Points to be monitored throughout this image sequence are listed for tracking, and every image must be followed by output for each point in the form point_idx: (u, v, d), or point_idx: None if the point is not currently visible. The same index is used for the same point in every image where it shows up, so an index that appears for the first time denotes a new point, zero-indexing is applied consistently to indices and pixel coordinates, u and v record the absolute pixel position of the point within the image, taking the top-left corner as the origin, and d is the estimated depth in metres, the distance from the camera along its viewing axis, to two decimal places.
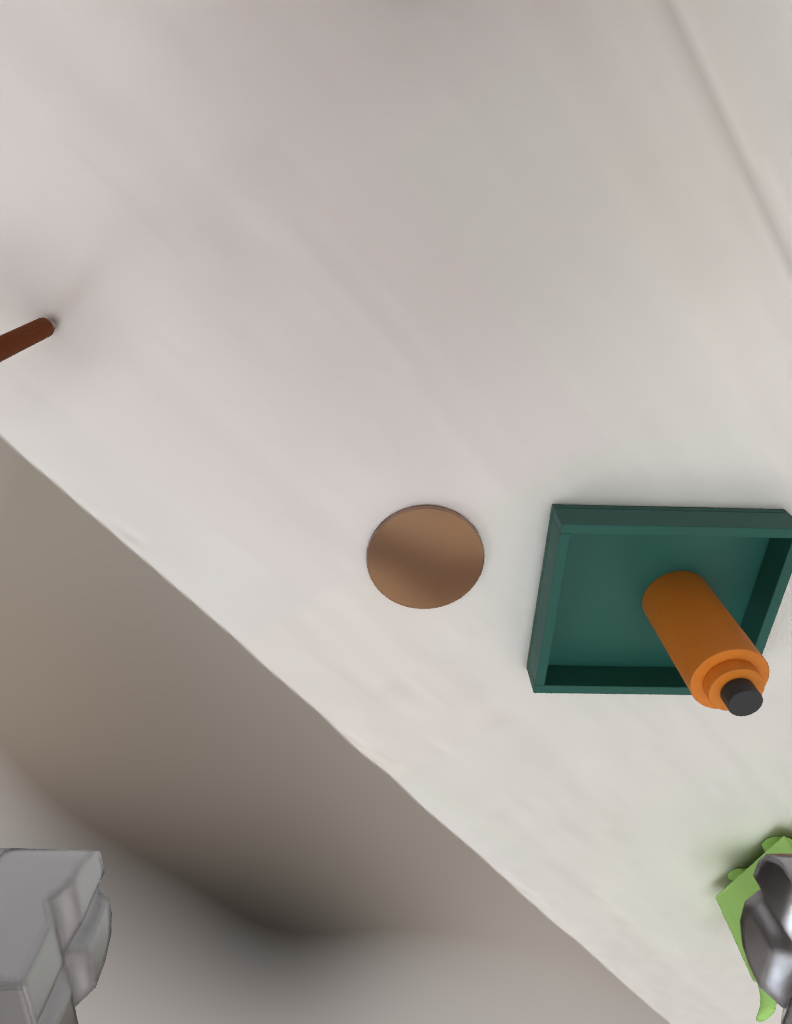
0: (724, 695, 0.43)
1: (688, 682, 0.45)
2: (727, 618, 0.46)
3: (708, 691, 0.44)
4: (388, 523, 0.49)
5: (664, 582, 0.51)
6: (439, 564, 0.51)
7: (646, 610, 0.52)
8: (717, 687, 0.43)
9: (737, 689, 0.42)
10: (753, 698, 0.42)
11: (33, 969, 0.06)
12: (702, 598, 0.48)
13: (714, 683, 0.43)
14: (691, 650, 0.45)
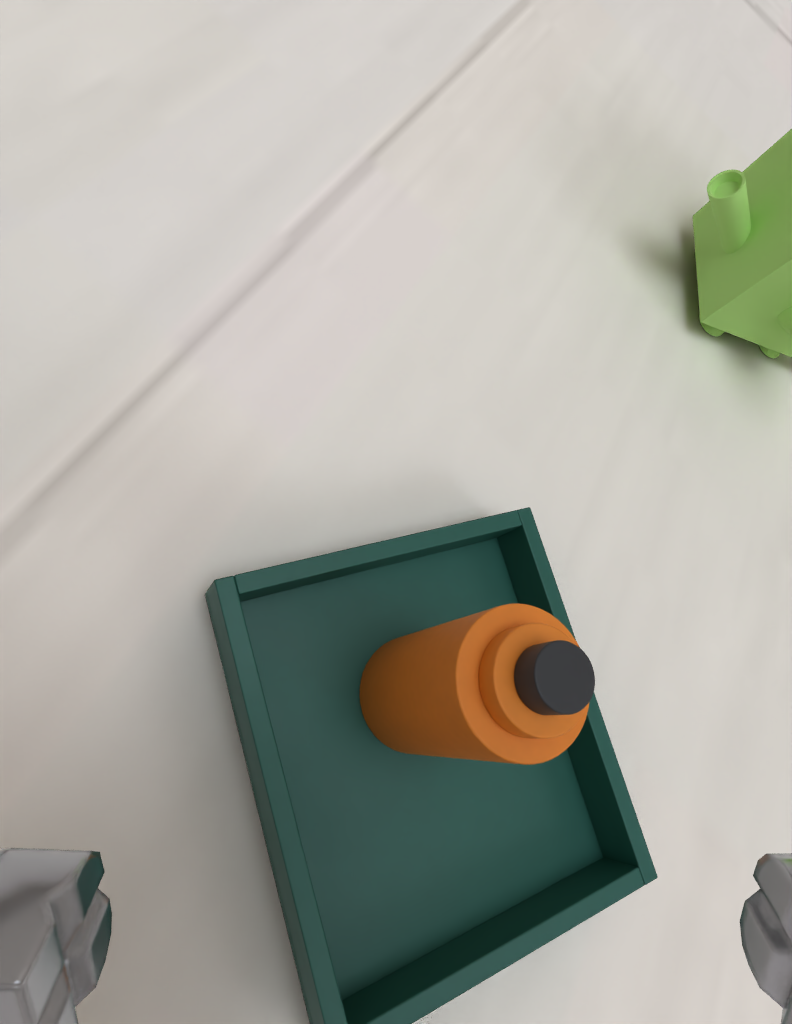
0: None
1: None
2: (412, 685, 0.24)
3: (564, 732, 0.21)
4: None
5: (391, 744, 0.29)
6: None
7: None
8: (551, 724, 0.21)
9: (543, 706, 0.20)
10: (549, 668, 0.20)
11: (33, 969, 0.06)
12: (392, 709, 0.26)
13: (545, 736, 0.21)
14: (494, 761, 0.22)
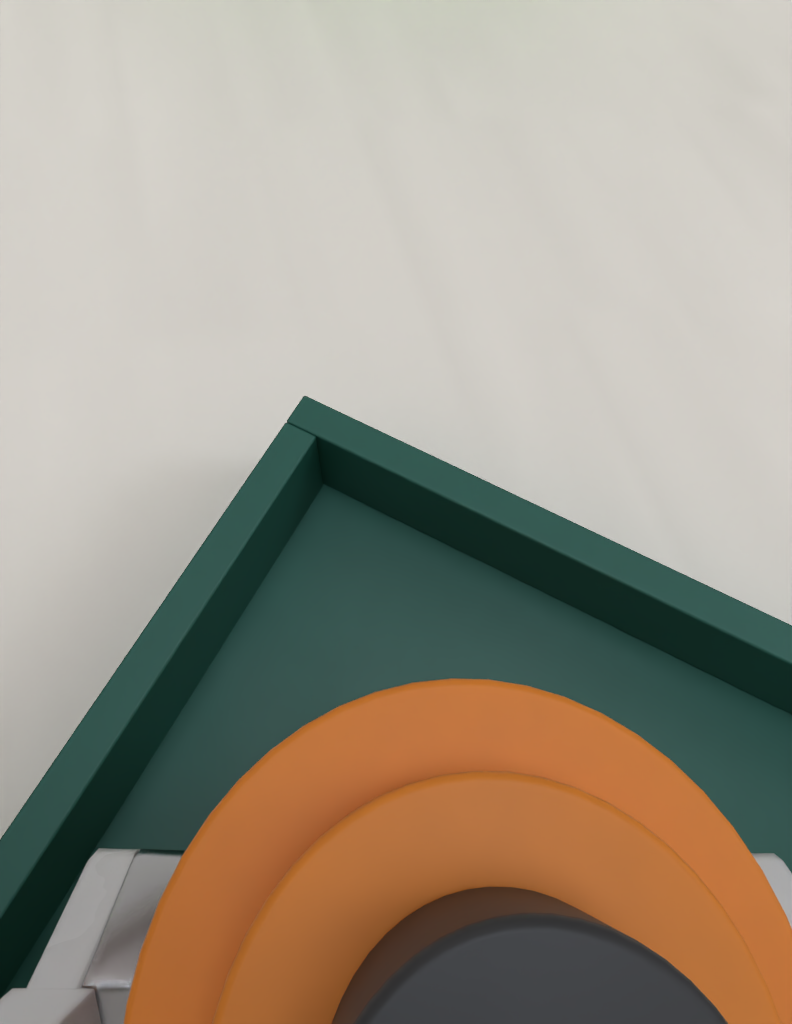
0: None
1: None
2: None
3: None
4: None
5: None
6: None
7: None
8: None
9: None
10: None
11: None
12: None
13: None
14: None
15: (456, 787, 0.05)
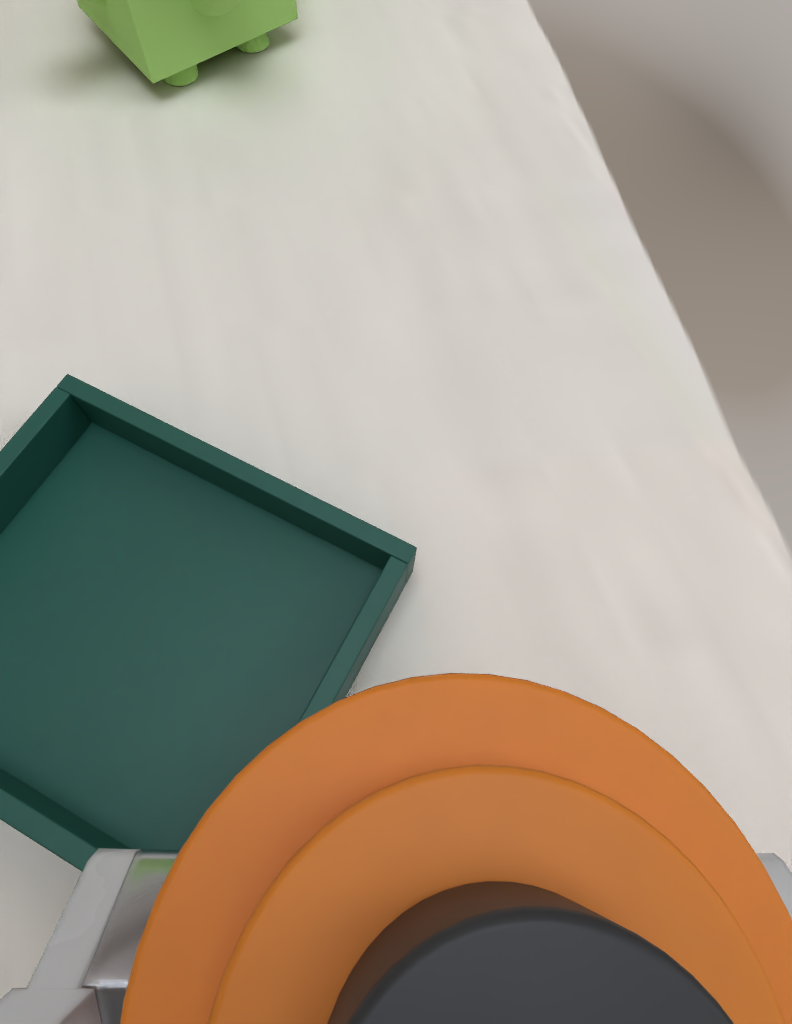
0: None
1: None
2: None
3: None
4: None
5: None
6: None
7: None
8: None
9: None
10: None
11: None
12: None
13: None
14: None
15: (455, 781, 0.05)
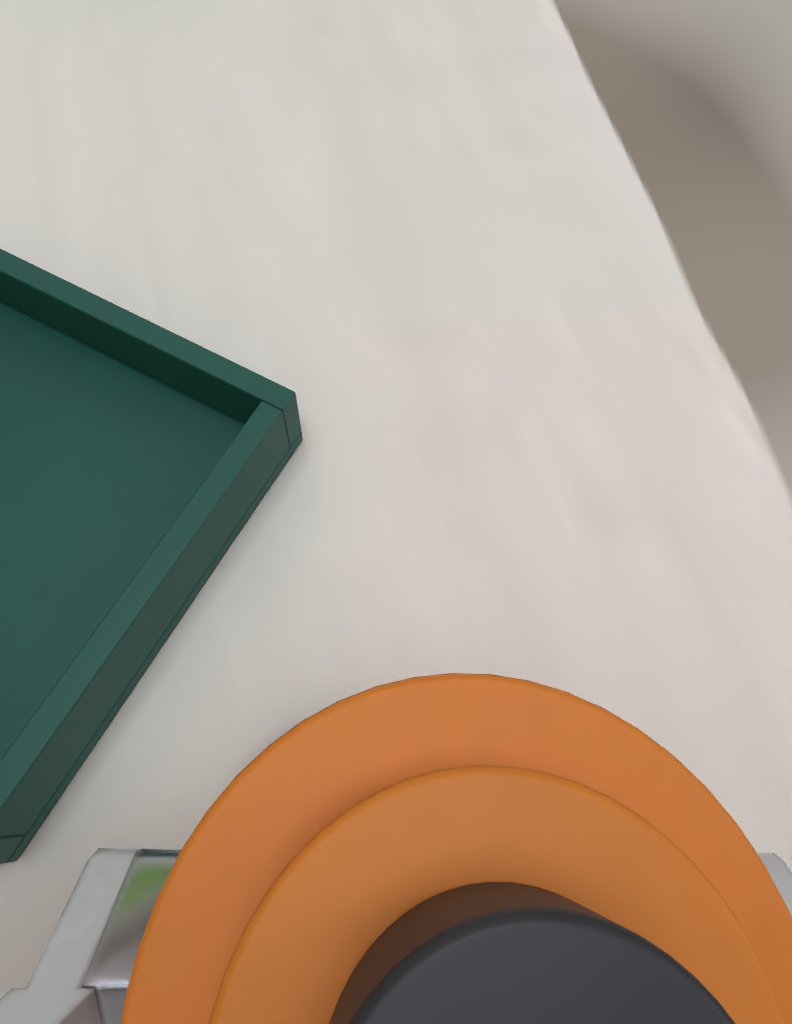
0: None
1: None
2: None
3: None
4: None
5: None
6: None
7: None
8: None
9: None
10: None
11: None
12: None
13: None
14: None
15: (457, 782, 0.05)
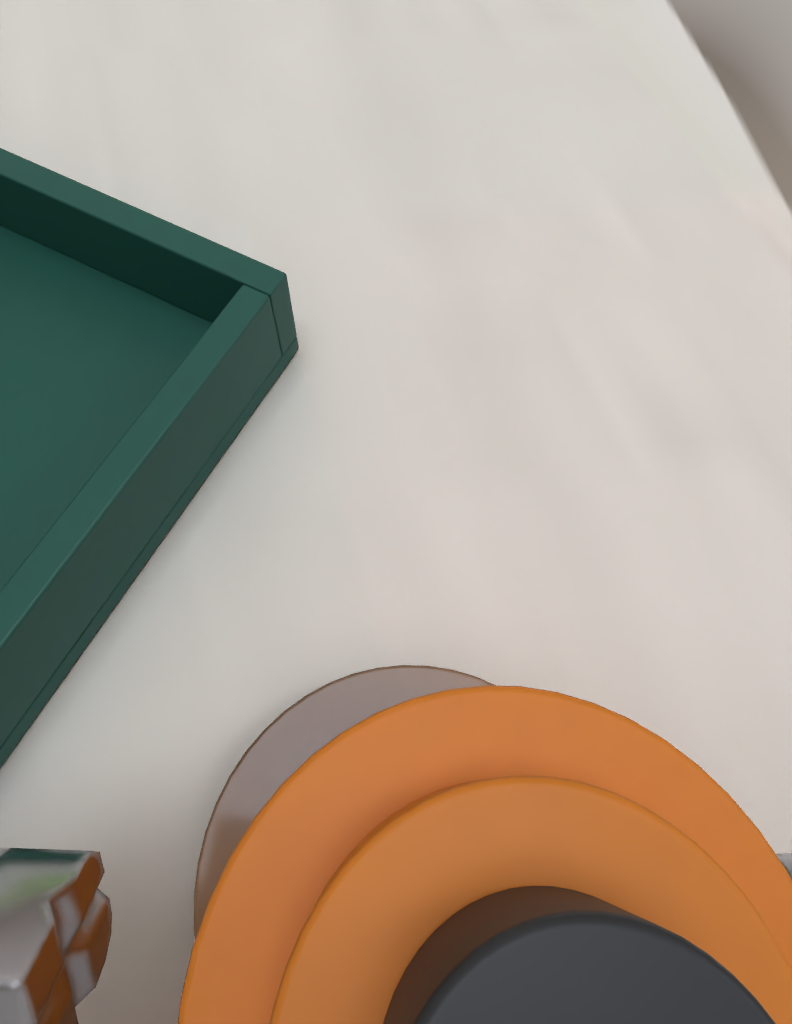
0: None
1: None
2: None
3: None
4: None
5: None
6: None
7: None
8: None
9: None
10: None
11: (33, 969, 0.06)
12: None
13: None
14: None
15: (497, 791, 0.05)
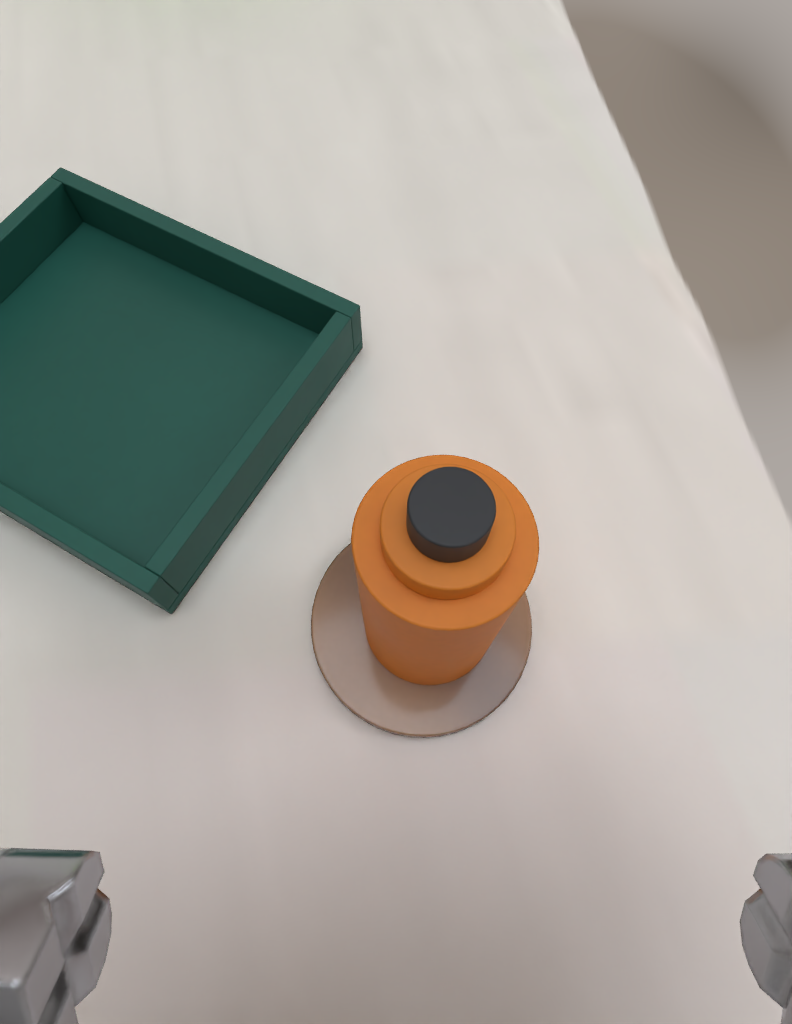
0: (486, 537, 0.17)
1: None
2: (378, 628, 0.21)
3: (511, 549, 0.17)
4: (448, 728, 0.26)
5: (442, 681, 0.25)
6: None
7: None
8: (490, 555, 0.17)
9: (456, 550, 0.16)
10: (429, 512, 0.16)
11: (33, 969, 0.06)
12: (397, 658, 0.23)
13: (494, 571, 0.17)
14: (491, 628, 0.19)
15: (440, 466, 0.18)
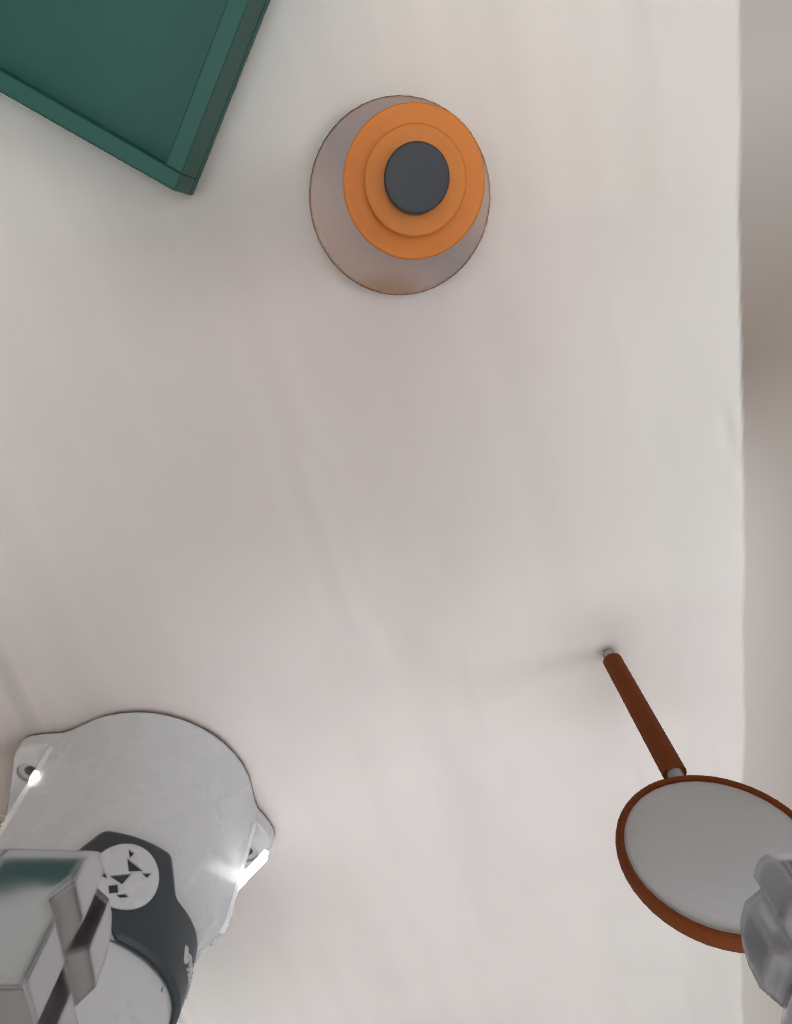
0: None
1: None
2: None
3: (461, 201, 0.24)
4: (419, 289, 0.35)
5: None
6: None
7: None
8: (445, 208, 0.24)
9: None
10: (400, 184, 0.22)
11: (33, 969, 0.06)
12: None
13: (447, 220, 0.24)
14: None
15: (410, 125, 0.23)
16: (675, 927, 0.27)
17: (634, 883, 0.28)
